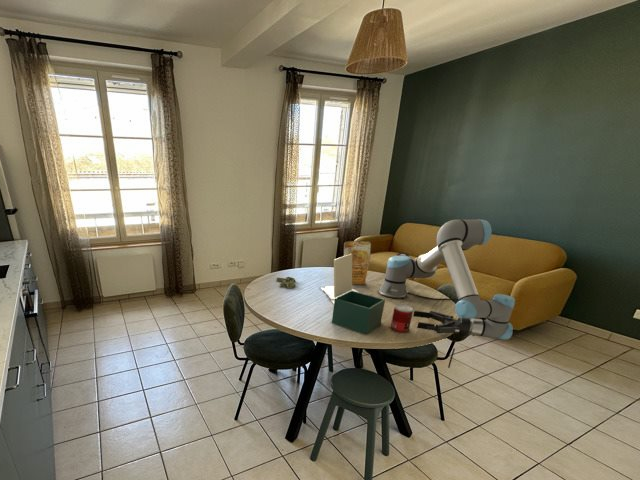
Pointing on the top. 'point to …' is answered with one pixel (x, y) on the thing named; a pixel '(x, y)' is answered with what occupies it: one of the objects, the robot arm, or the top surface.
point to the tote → (358, 311)
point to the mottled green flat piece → (289, 285)
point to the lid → (342, 275)
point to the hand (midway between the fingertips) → (415, 319)
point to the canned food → (401, 318)
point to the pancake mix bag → (358, 259)
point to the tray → (332, 292)
